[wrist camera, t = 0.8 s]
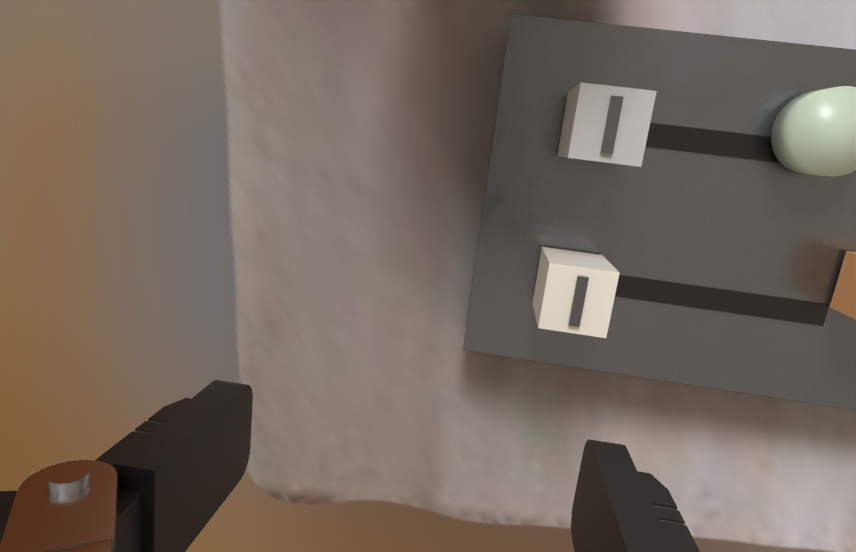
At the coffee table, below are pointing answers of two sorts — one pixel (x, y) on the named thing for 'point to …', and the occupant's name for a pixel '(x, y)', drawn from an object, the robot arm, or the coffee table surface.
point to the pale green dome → (818, 132)
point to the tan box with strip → (846, 287)
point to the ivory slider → (574, 292)
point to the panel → (671, 214)
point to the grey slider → (606, 124)
